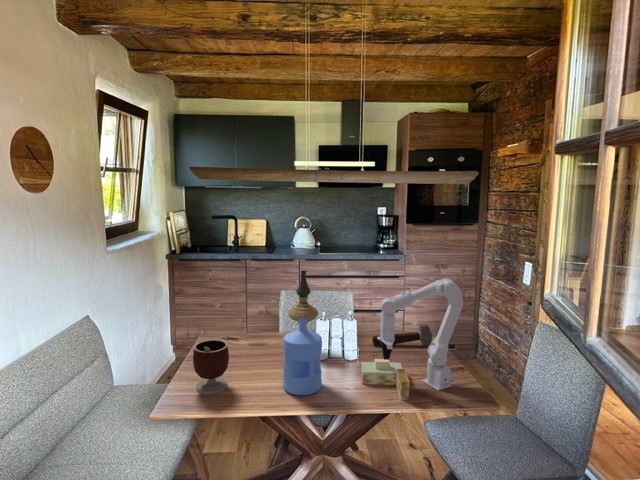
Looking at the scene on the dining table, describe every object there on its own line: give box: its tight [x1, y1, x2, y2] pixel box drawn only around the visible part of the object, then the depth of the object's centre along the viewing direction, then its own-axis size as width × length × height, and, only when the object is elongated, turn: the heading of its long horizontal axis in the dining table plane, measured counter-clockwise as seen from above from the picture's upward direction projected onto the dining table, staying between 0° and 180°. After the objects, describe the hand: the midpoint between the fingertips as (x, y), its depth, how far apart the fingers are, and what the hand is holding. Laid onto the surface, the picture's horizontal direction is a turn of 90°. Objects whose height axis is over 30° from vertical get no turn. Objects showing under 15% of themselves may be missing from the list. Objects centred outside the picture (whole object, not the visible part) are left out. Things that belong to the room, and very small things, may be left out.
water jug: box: [282, 319, 323, 396], centre depth 163 cm, size 16×16×28 cm
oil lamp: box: [287, 270, 320, 330], centre depth 199 cm, size 15×15×40 cm
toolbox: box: [360, 366, 410, 401], centre depth 166 cm, size 17×22×5 cm
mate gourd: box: [192, 339, 230, 395], centre depth 162 cm, size 16×14×20 cm
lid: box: [360, 358, 404, 376], centre depth 172 cm, size 17×10×5 cm, turn 89°
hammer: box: [372, 323, 433, 348], centre depth 209 cm, size 5×11×30 cm
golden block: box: [397, 368, 411, 389], centre depth 159 cm, size 3×11×2 cm, turn 179°
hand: (386, 359), depth 170 cm, fingers closed
